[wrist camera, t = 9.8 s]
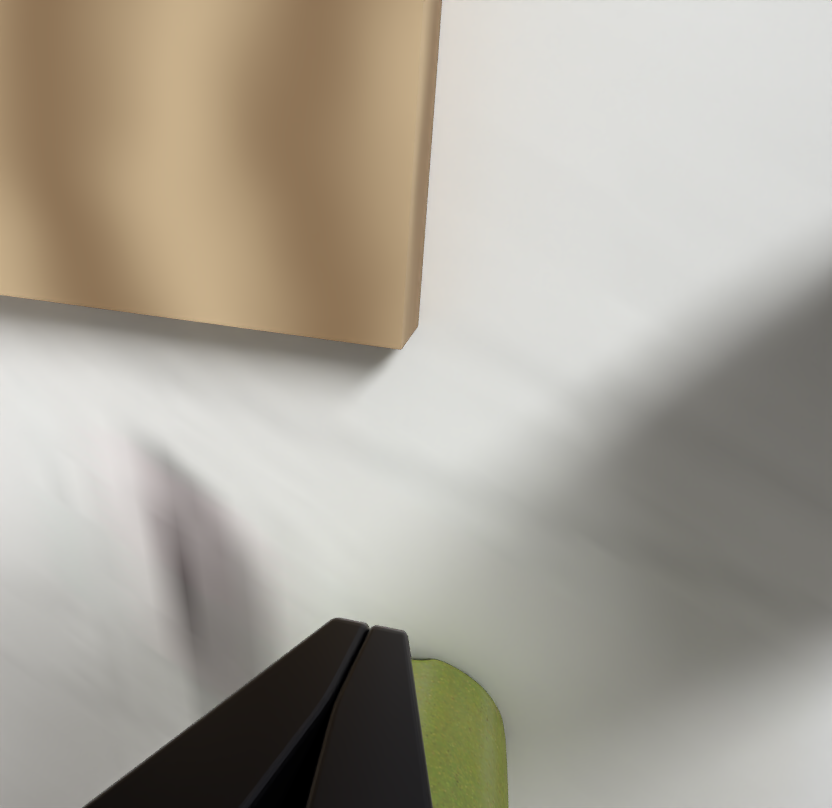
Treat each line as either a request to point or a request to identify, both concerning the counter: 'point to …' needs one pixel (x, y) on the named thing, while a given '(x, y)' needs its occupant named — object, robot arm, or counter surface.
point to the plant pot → (460, 738)
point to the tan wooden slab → (220, 160)
